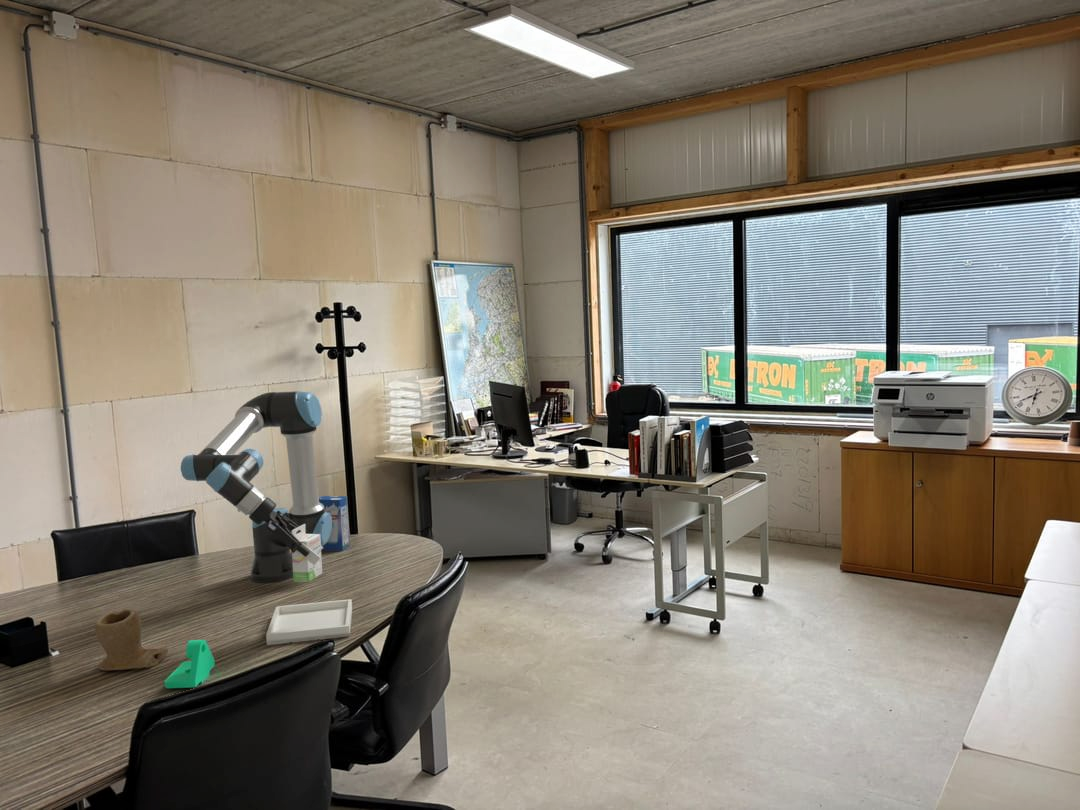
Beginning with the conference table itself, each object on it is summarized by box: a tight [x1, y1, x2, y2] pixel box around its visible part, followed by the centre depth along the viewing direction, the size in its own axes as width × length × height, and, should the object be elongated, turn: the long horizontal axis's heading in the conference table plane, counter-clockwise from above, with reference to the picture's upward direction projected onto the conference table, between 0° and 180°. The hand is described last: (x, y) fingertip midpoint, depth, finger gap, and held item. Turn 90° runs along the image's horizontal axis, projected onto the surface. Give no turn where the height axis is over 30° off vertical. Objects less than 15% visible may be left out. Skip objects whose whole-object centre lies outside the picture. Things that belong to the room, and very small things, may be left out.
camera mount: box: [164, 639, 216, 689], centre depth 195 cm, size 12×8×10 cm, turn 1°
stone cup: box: [94, 608, 170, 671], centre depth 203 cm, size 15×12×15 cm
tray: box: [265, 598, 353, 646], centre depth 228 cm, size 22×22×3 cm
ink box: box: [291, 524, 323, 583], centre depth 226 cm, size 9×5×15 cm, turn 168°
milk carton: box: [319, 495, 350, 552], centre depth 307 cm, size 10×6×20 cm, turn 79°
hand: (318, 556), depth 227 cm, fingers closed on ink box, 9 cm apart
